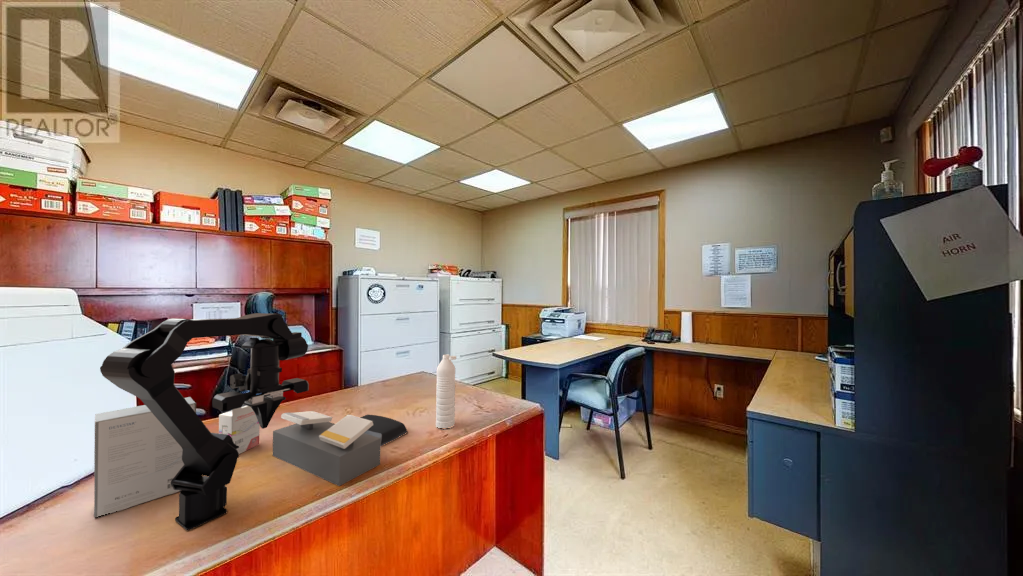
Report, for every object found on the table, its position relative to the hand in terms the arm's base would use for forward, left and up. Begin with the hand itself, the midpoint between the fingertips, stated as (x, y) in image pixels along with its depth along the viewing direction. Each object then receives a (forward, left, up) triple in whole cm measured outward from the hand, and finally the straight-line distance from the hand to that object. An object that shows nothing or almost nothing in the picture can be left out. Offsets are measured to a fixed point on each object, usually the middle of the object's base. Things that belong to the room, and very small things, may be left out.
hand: (263, 427), depth 83 cm
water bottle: (+49, -17, -13) cm, 53 cm away
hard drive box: (-16, +16, -13) cm, 26 cm away
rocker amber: (+14, -12, -3) cm, 19 cm away
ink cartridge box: (+5, +24, -13) cm, 28 cm away
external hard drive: (+32, 0, -14) cm, 35 cm away
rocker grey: (+14, +6, -3) cm, 16 cm away
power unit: (+14, -3, -13) cm, 19 cm away
